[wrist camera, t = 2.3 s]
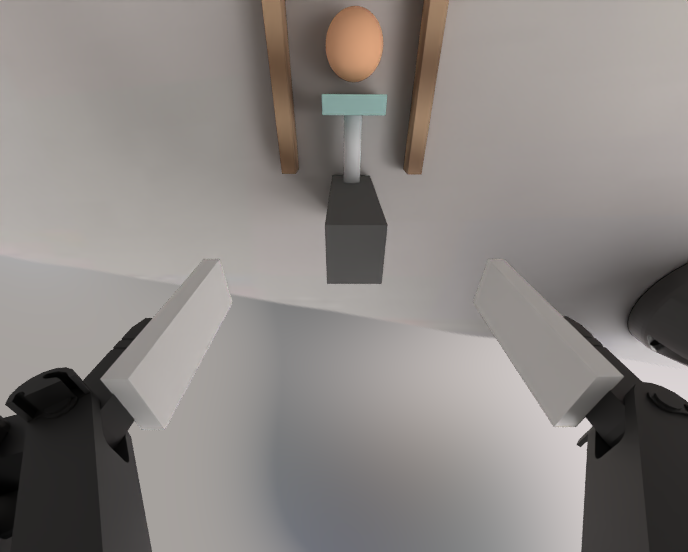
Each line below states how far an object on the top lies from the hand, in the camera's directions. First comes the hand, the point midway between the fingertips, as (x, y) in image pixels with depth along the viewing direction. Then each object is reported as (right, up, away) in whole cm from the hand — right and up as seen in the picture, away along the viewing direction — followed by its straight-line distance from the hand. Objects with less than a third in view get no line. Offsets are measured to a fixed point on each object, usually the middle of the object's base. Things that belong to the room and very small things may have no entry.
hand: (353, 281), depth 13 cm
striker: (0, +11, +11) cm, 15 cm away
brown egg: (0, +16, +5) cm, 17 cm away
